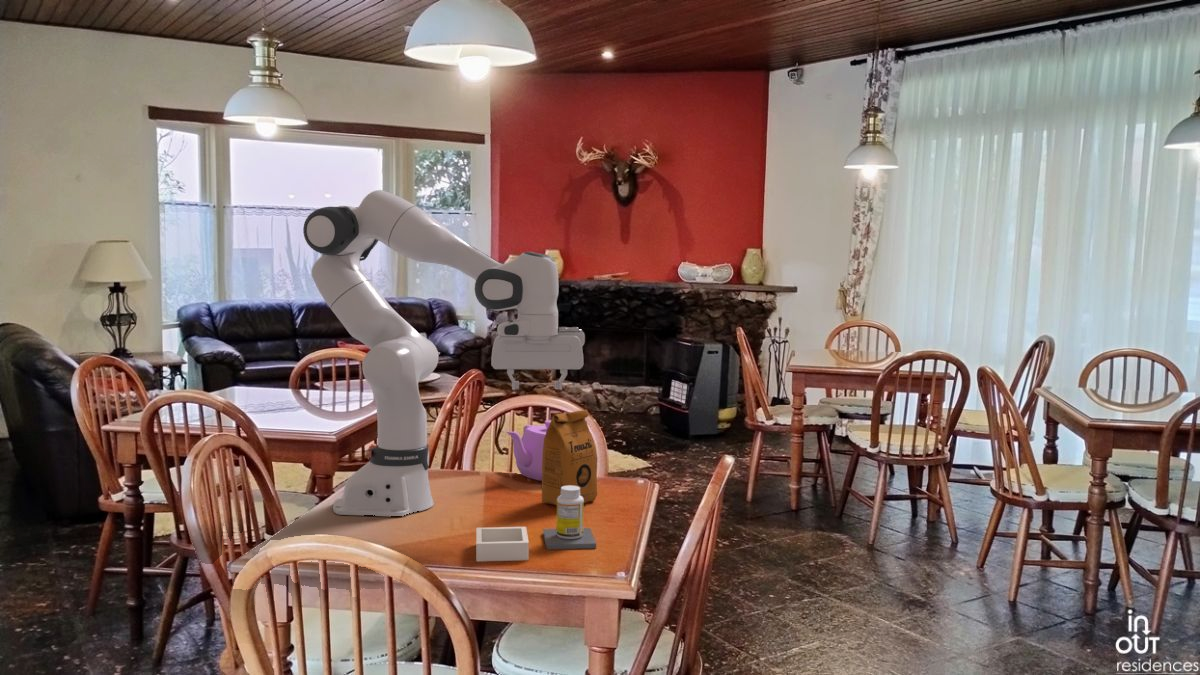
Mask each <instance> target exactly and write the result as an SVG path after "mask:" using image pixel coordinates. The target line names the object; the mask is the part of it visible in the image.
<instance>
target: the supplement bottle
mask: <svg viewBox="0 0 1200 675" xmlns="http://www.w3.org/2000/svg"><path fill="white" fill-rule="evenodd" d="M560 493H561V495H560V496H559V497H558V498H557V505H556V529H557V536H558V537H560V538H562V539H578V538H580V537H582V535H583V528H584V519H585V518H584V512H585V511H584V507H585V506H584V505H585V503H584V499H583V497H582V496H580V487H578V486H572V485H568V486H563V487H561V492H560Z"/></svg>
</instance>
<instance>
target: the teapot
mask: <svg viewBox="0 0 1200 675" xmlns="http://www.w3.org/2000/svg"><path fill="white" fill-rule="evenodd" d="M551 420H552V419H547V420H545V421H544V424H543V425H531V424H526V425H524V427H523V434H522V437H521V435H520V434H519V433H518V432H517V431H511V430H508V431H505V433H507V434H508V435H509V436H510V437H511V438H512V442H513V445H512V446H513V455H514V458H515V465H516V467H517V470H518V472H519V473H520V474H521V475H522V476H524V477H527V478H528V479H532V480H536V481H540V482H542V460H543V444H544V437H545V435H546V432H547V429H548V428H549V424H550V422H551Z"/></svg>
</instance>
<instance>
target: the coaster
mask: <svg viewBox="0 0 1200 675" xmlns="http://www.w3.org/2000/svg"><path fill="white" fill-rule="evenodd" d="M542 535H543V538H544V543H545V547H546V550H571V549H572V550H574V549H575V550H576V549H577V550H578V549H579V550H581V549H597V541H596V539H595V536H594V534H593V532H592V529H591V528H590V527H583V535H582V537H580V538H578V539H562V538H560V537H558V536H557V528H544V529H542Z"/></svg>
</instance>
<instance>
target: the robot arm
mask: <svg viewBox="0 0 1200 675" xmlns="http://www.w3.org/2000/svg"><path fill="white" fill-rule="evenodd" d="M302 232H303V237H304V239H305V242H306V244H307V246H308V247H309V248H310V249H312V250H313V251H315V252H317V253H318V254H321V256H320V257H319V258H317V260H316V261H315V262H314V264H313V266H312V269H311V277H312V279H313V280H312V281H313V282H314V284H315V286H316V289H318V292H319V294H320V295H321V297H322V298H323V299H324V300H323V301H325V303H326V305H328V307H329V308H330V310H331V311H332V312H333V314H334V315H335V316H336V318H337V319H338V321H339V322H340V323H341V324H342V325H343V327H344V328H345V330H346V331H347V332H348V334H349V335H350V336H351V337H352V338H353V339H355V340H357V341H359V342H361V343H362V344H363V345H365V346H366V347H367V348H369V351H367V353H366V354H365V355H364V358H363V361H362V364H361V366H362V367H361V368H362V374H363V377H364V379H365V381H366V382H367V383H368V384H369V385H370V389H371V391H372V395H373V398H374V403H375V408H376V413H377V414H376V415H377V418H376V420H377V444H376V443H371V444H370V445H369V446H368V449H367V450H368V461H369V462H367V463H365V465H363V466H362V467H360V468H359V469H358V470H357V471H355V472H354V473H353V474H352V475H351V476H349V478H348V479H347V480H346V482H345V483H344V484H345V485H344V488H343V495H342V496H339V497H338V498H336V499H335V500H334V502H333V504H332V505H333V506H332V511H333V513H335V514H336V515H343V516H344V515H345V516H364V515H373V517H391V516H402V517H404V515H405V516H407V515H406V514H408V515H410V514H414V513H418V512H417V511H419V512H423V511H425V510H426V511H427V510H428V509H430V508H432V507H433V506H434V503H435V502H434V500H433V497H432V492H431V486H430V481H429V473H428V471H429V470H428V469H429V466H430V449H429V444H428V443H427V442H428V440H427V434H428V433H427V430H428V428H427V426H428V425H427V424H428V422H427V421H428V419H427V418H428V417H427V416H428V414H427V410H426V408H425V407H424V405H423V402H422V398H421V395H420V390H419V382H421V381H423V380H425V379H427V378H428V377H429V376H430V375H431V374H432V373H433V372H434V371H435V369H436V368H437V367H438V364H439V359H440V358H439V352H438V349H437V346H436V345H435V344H434V342H433V341H431V340H430V339H428V338H426V337H425V336H423V335H422V334H420V333H419V332H418V331H417V330H416V329H415V328H414V327H413V326H412V325H411V324H410V323H409V322H408V321H406V320H405V319H404V318H403V317H402V316H401V315H400V314H399V313H398V312H397V311H396V310H395V309H394V308H393V307H392V306H391V305H390V303H389V302H388V301H387V299H385V298H384V296H383V294H381V292H380V291H379V290H378V289H377V286H376V285H374V283H373V282H372V280H371V279H370V278H369V277H368V274H366V273H365V272H364V270H363V268H362V266H361V264H360V262H361V261H365V260H366V259H367V258H368V256H369V255H370V253H371V251H372V250H373V249H374V248H375V246H376V245H377V244H378V243H379V242H381V243H383V244H384V245H386V247H388V248H389V249H392V250H393V251H395V252H396V253H398V254H400V255H402V256H403V257H406V258H408V259H411V260H414V261H416V262H420V263H428V264H436V265H437V264H438V265H443V266H447V267H450V268H454V269H456V270H458V271H460V272H461V273H463V274H465V275H466V276H468V277H470V278H472V279H473V280H475V283H474V294H475V298H476V300H477V302H478V303H479V304H480V305H481V306H482V307H483V308H485V309H488V310H490V311H495V312H496V311H498V312H500V311H507V310H517V318H516V319H511V320H509V321H505V322H502V323H500V324H498V326H497V329H496V330H497V333H498V335H497V336H496V337H495V338H494V340H493V343H492V349H491V350H492V351H491V358H490V359H491V360H490V361H491V362H490V364H491V367H492V368H493V369H494V370H506V373H507V376H508V378H509V380H510V381H511V389H512V391H513V390H514V391H515V390H516V391H517V390H520V381H519V380H515V378H514V376H513V375H514V374H515V370H559V373H560V374H561V375H560V377H559V379H558V380H554V390H561V391H562V390H563V382H564V381H565V379H566V377H567V376H568V370H581V369H582V368H583V366H584V353H583V346H584V345H585V343H586V335H585V332H584V331H583V330H582V329H579V327H577V326H572V327H567V326H559V309H558V305H557V301H558V297H559V292H560V291H559V285H560V284H559V271H558V265H557V261H556V260H555V259H554V257H553V256H550V255H548V254H544V253H540V252H534V251H524V252H522V253H521V254H520V255H519V256H517V257H515V258H514V259H512V260H509V261H507V262H505V263H502V262H500V261H497V260H496V259H494V258H493V257H491V256H489V255H488V254H486V253H484V252H482V251H481V250H479V249H477V248H476V247H474V246H472V245H470V244H469V243H467V242H465V241H464V240H462V239H461V238H460V237H459V236H457V235H456V234H455V233H453V232H452V231H451V230H449V229H448V228H447V227H446V226H444V225H443V224H442V223H441V222H439V221H438V220H436V219H435V218H434V217H433V216H432V215H430V214H429V213H428V212H426V211H424V210H423V209H421V208H420V207H419V206H416V205H415V204H413V203H412V202H410V201H409V200H407V199H404V198H403V197H401V196H398V195H396V194H394V193H391V192H389V191H386V190H382V189H381V190H379V189H378V190H374V191H371V192H369V193H368V194H367V195H366V196H365V197H363V199H362V200H361V202H360V204H359V205H358V206H356V207H355V206H349V205H339V206H324V207H321V208H318V209H316V210H314V211H312V212H311V213H310V214H309V215H307V217H306V218H305V221H304V224H303V230H302ZM413 512H414V513H413ZM409 513H410V514H409ZM374 515H375V516H374Z"/></svg>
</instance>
